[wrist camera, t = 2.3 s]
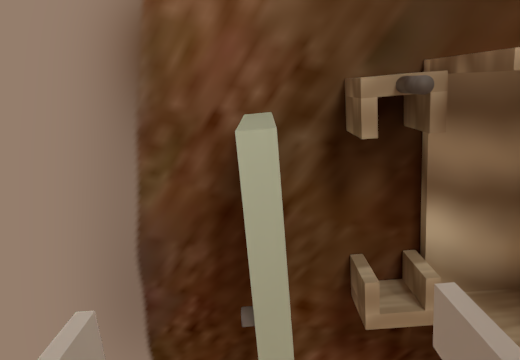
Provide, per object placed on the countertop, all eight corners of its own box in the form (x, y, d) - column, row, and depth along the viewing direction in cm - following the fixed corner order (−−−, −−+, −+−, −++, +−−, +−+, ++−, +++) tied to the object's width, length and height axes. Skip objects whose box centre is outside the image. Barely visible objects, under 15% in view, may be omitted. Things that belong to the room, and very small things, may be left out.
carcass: (344, 67, 27) (390, 58, 17) (546, 49, 27) (707, 30, 17) (351, 304, 32) (391, 401, 22) (523, 291, 31) (640, 384, 22)
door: (230, 115, 28) (214, 133, 18) (271, 112, 28) (276, 128, 18) (247, 282, 31) (242, 371, 22) (284, 279, 31) (294, 367, 22)
